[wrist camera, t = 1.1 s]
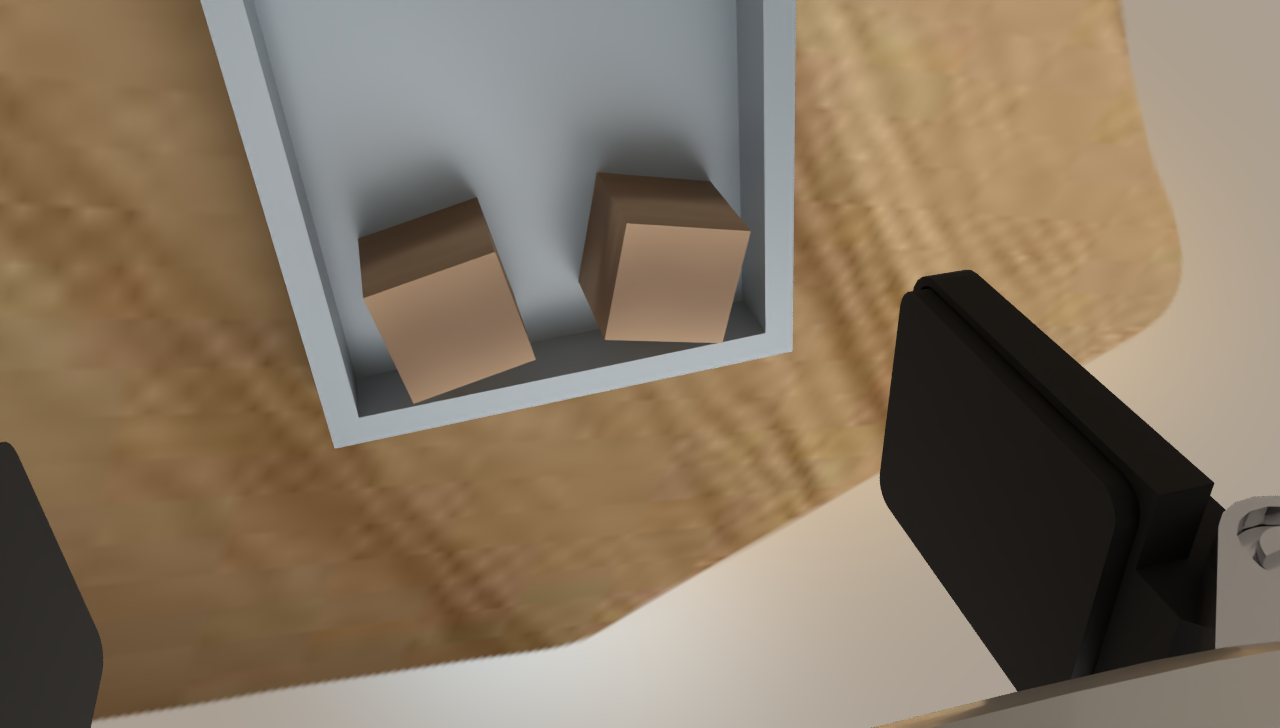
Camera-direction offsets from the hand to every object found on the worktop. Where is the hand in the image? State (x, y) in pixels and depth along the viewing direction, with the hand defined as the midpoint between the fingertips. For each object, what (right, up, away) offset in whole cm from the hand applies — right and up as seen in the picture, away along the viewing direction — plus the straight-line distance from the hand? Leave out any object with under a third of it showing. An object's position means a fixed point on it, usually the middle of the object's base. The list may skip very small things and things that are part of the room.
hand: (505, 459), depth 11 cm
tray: (-2, +9, +22) cm, 24 cm away
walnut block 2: (+2, +6, +25) cm, 25 cm away
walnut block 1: (-5, +4, +23) cm, 24 cm away
